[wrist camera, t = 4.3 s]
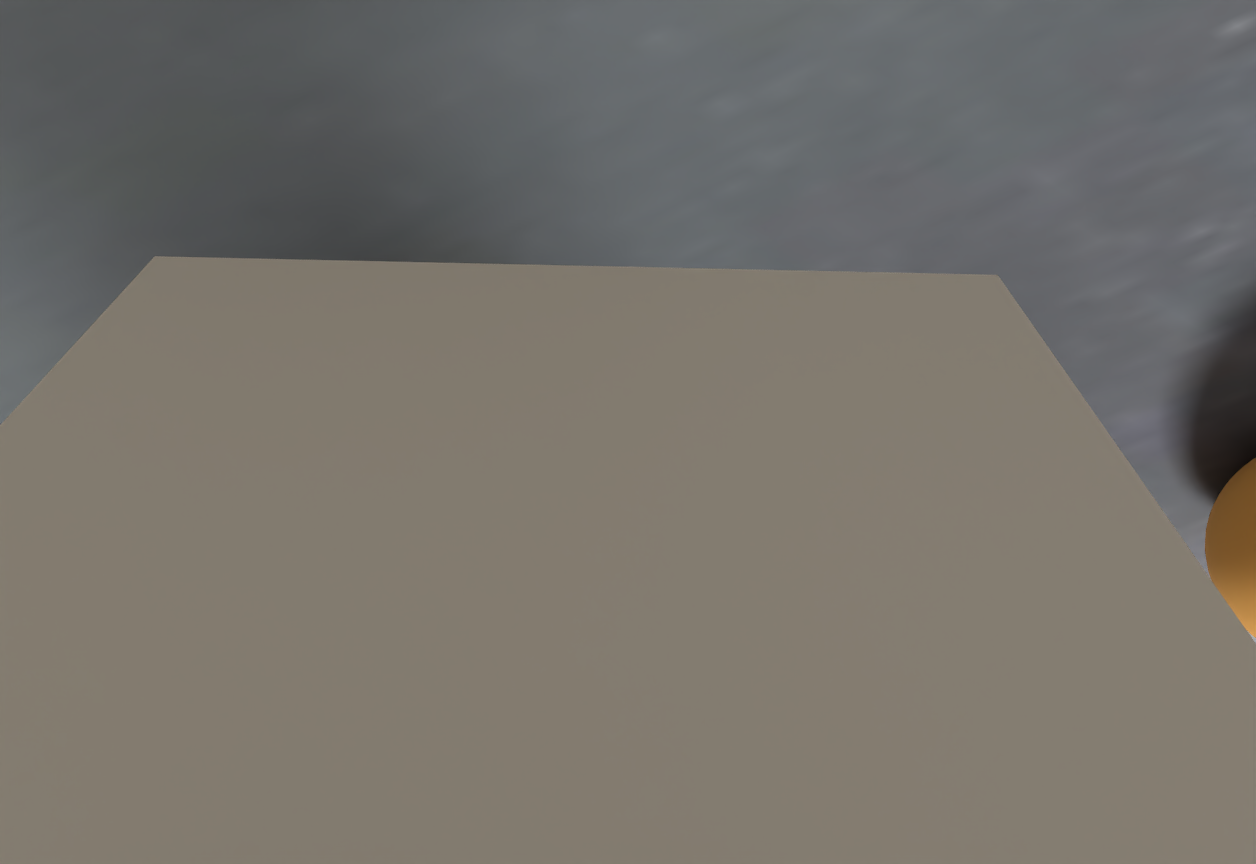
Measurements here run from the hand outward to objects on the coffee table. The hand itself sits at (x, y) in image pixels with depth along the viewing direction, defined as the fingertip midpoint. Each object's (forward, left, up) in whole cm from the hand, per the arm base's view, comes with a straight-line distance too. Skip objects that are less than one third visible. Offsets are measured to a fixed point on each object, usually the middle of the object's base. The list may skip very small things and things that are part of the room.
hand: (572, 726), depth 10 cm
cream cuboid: (0, 0, -2) cm, 2 cm away
